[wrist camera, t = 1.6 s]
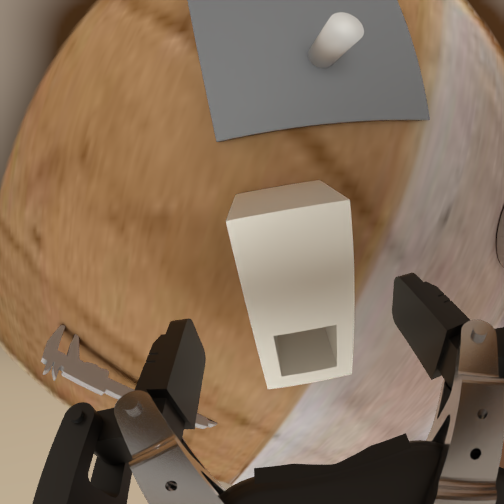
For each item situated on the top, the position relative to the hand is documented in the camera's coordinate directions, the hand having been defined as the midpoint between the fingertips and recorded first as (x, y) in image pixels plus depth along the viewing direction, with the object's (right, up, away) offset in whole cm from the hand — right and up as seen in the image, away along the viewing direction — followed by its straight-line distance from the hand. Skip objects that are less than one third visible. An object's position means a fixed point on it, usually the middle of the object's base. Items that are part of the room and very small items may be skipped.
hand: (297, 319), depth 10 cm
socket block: (+1, +2, +9) cm, 9 cm away
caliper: (-14, -11, +15) cm, 23 cm away
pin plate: (+2, +17, +3) cm, 17 cm away
